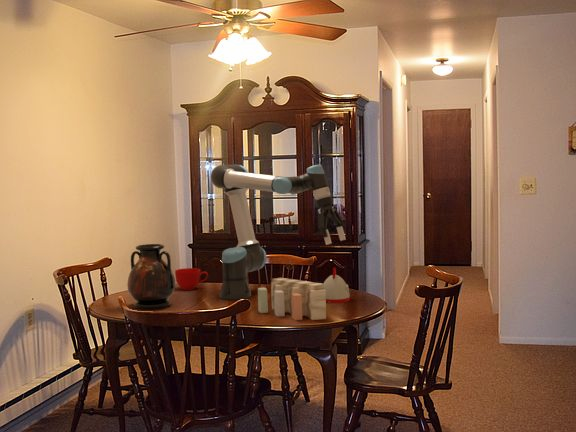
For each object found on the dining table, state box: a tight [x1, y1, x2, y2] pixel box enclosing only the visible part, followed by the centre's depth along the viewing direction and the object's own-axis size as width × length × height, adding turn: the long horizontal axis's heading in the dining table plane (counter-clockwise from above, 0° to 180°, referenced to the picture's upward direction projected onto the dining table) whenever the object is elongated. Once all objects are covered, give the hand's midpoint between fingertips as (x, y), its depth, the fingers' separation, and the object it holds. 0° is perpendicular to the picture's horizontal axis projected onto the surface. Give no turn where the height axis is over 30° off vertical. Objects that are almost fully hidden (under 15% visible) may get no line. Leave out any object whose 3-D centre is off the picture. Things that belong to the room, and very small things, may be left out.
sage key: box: [257, 287, 269, 314], centre depth 293 cm, size 5×3×10 cm, turn 15°
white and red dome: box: [323, 267, 351, 304], centre depth 316 cm, size 14×14×15 cm
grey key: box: [274, 290, 286, 317], centre depth 286 cm, size 5×3×10 cm, turn 15°
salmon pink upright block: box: [291, 293, 303, 321], centre depth 278 cm, size 5×3×10 cm, turn 15°
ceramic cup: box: [174, 267, 209, 291], centre depth 354 cm, size 13×17×10 cm
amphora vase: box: [127, 243, 176, 310], centre depth 312 cm, size 22×22×28 cm
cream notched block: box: [270, 277, 327, 321], centre depth 288 cm, size 31×10×14 cm, turn 44°
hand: (336, 242), depth 314 cm, fingers open, 13 cm apart
